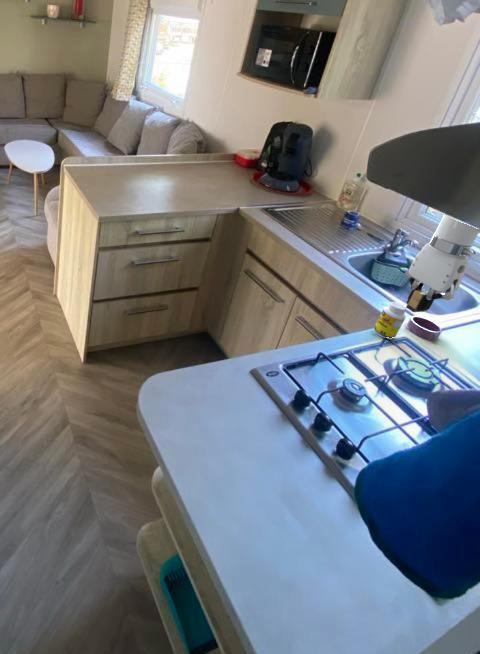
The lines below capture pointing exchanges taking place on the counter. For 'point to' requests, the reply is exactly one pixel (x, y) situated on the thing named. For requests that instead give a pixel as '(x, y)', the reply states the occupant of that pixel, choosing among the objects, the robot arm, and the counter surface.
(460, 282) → the robot arm
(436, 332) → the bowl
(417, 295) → the brown wooden block
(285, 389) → the counter surface
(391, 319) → the supplement bottle
